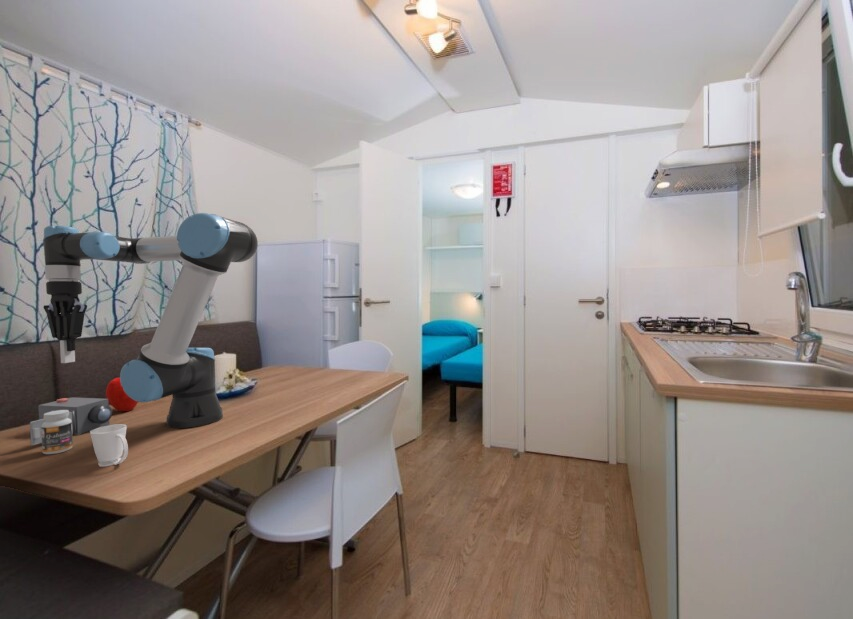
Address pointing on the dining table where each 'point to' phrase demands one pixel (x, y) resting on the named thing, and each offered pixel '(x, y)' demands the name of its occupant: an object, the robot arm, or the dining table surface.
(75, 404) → the camera body
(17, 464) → the dining table surface
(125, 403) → the apple
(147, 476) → the dining table surface
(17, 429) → the dining table surface
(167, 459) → the dining table surface
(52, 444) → the pill bottle
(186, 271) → the robot arm
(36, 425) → the side door
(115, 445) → the cup
